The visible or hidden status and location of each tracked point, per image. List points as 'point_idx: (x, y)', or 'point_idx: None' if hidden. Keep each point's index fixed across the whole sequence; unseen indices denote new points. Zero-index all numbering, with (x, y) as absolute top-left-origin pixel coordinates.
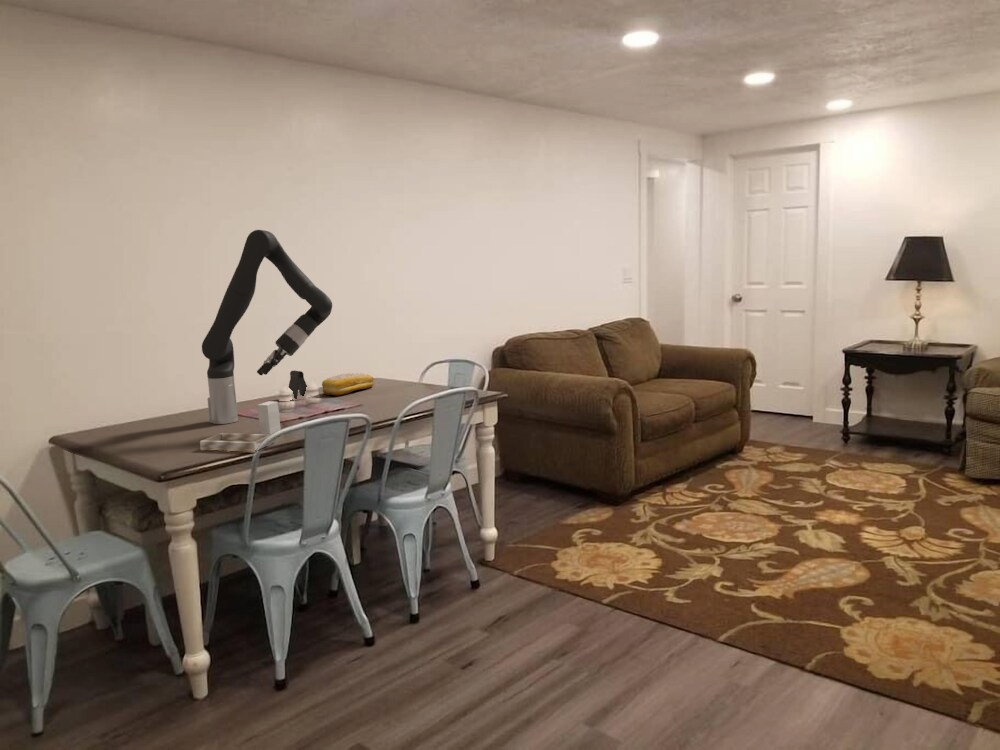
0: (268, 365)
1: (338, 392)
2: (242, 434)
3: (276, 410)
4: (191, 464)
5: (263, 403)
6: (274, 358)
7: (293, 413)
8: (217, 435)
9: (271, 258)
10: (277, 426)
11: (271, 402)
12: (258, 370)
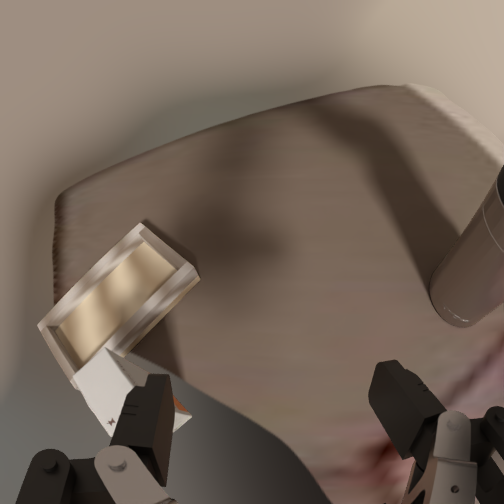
0: (115, 437)
1: None
2: (133, 318)
3: None
4: (67, 224)
5: (110, 374)
6: (30, 490)
7: None
8: (169, 258)
9: None
10: None
11: (109, 409)
12: (386, 372)
